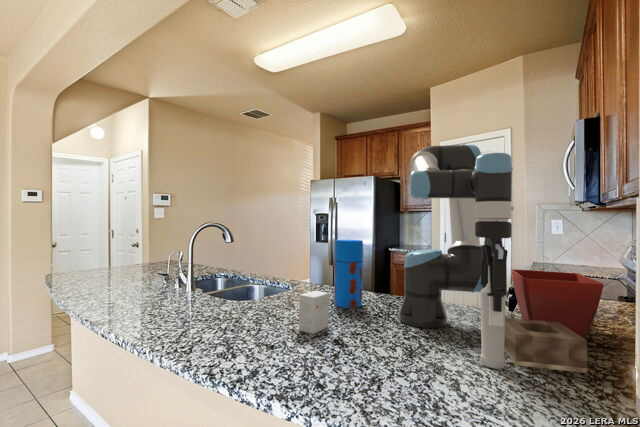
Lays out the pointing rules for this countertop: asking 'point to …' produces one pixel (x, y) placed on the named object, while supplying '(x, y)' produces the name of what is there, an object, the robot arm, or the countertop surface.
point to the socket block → (544, 345)
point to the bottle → (491, 334)
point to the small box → (313, 311)
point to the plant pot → (558, 298)
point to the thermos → (348, 273)
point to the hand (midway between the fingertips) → (492, 321)
